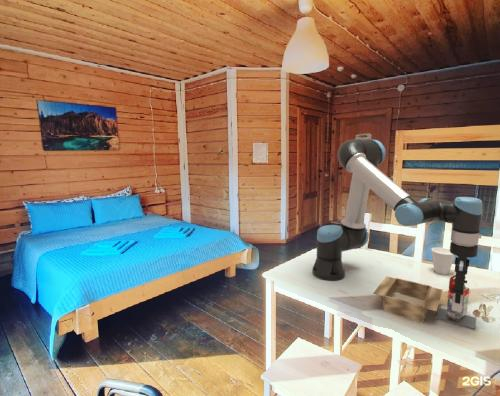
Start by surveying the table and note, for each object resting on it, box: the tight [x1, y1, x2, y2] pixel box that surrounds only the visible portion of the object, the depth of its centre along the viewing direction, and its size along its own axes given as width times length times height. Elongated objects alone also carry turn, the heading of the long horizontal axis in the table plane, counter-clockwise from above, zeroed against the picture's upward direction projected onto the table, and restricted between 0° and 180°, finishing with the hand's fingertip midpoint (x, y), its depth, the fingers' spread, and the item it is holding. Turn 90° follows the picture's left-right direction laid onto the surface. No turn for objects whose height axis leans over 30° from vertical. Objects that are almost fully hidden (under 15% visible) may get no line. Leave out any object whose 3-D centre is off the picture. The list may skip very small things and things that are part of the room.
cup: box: [430, 247, 456, 276], centre depth 140 cm, size 10×10×11 cm
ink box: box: [446, 274, 470, 321], centre depth 101 cm, size 4×8×15 cm, turn 124°
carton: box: [372, 275, 443, 323], centre depth 112 cm, size 20×19×6 cm
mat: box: [436, 307, 477, 331], centre depth 102 cm, size 11×8×1 cm
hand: (457, 305), depth 102 cm, fingers closed on ink box, 8 cm apart
